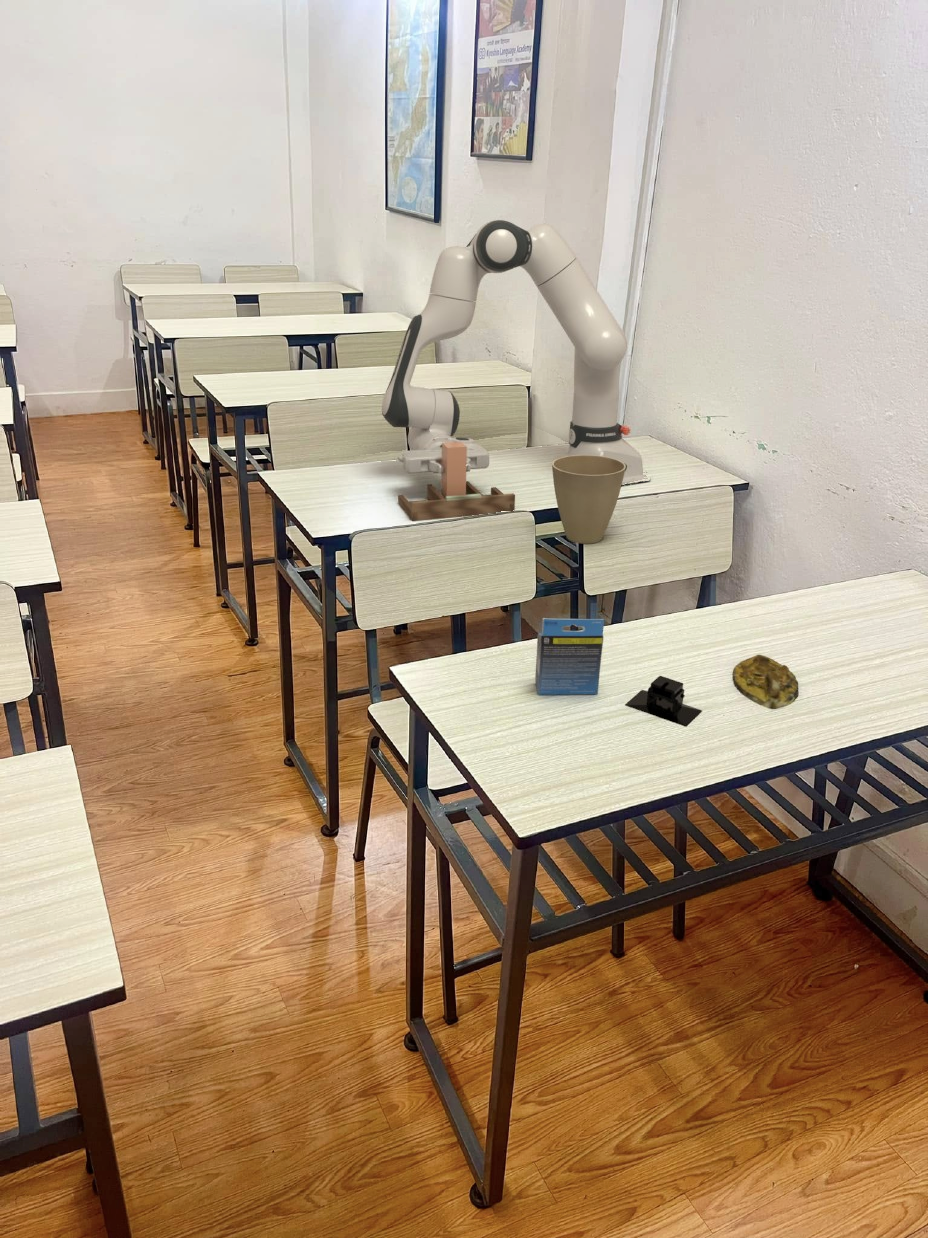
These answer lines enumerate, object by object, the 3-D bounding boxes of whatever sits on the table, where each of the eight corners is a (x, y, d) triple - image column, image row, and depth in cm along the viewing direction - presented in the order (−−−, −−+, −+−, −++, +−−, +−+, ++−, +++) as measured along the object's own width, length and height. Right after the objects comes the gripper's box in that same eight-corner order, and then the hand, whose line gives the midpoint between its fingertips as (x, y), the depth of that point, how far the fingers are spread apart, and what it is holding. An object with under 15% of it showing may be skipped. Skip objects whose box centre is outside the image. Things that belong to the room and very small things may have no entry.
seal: (725, 666, 141) (741, 714, 127) (725, 639, 139) (742, 685, 125) (786, 663, 140) (810, 712, 126) (788, 636, 138) (811, 682, 124)
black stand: (612, 707, 127) (615, 679, 125) (636, 687, 133) (639, 659, 131) (694, 737, 121) (698, 708, 119) (715, 715, 126) (720, 686, 124)
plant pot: (558, 522, 197) (562, 451, 190) (625, 531, 193) (632, 458, 186) (539, 544, 185) (543, 469, 178) (610, 554, 180) (617, 477, 173)
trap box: (495, 495, 215) (496, 476, 213) (514, 511, 204) (515, 492, 202) (398, 503, 208) (397, 484, 206) (412, 521, 197) (411, 500, 195)
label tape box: (593, 682, 133) (600, 607, 127) (598, 696, 129) (605, 619, 124) (534, 683, 132) (538, 607, 127) (537, 696, 129) (541, 619, 123)
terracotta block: (459, 492, 208) (460, 441, 203) (465, 498, 204) (466, 446, 199) (441, 493, 207) (441, 442, 202) (446, 499, 203) (447, 447, 198)
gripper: (395, 442, 210) (410, 458, 198) (478, 438, 215) (497, 452, 204) (395, 469, 212) (410, 485, 201) (477, 463, 218) (496, 479, 206)
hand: (455, 469), depth 202 cm, fingers closed on terracotta block, 4 cm apart
